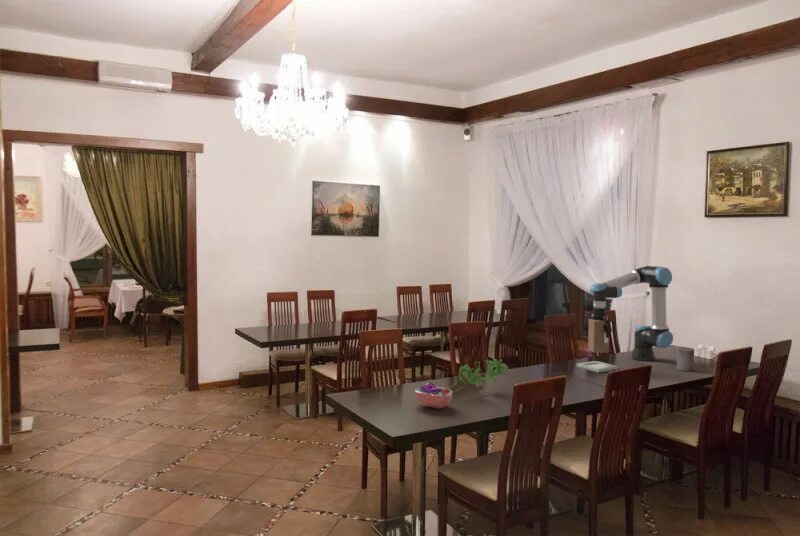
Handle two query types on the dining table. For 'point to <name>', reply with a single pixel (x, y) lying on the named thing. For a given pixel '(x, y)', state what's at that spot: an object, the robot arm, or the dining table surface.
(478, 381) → the plant cuttings
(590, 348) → the wooden block
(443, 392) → the cell model
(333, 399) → the dining table surface
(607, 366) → the square tray
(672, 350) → the dining table surface
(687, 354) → the pillar candle
